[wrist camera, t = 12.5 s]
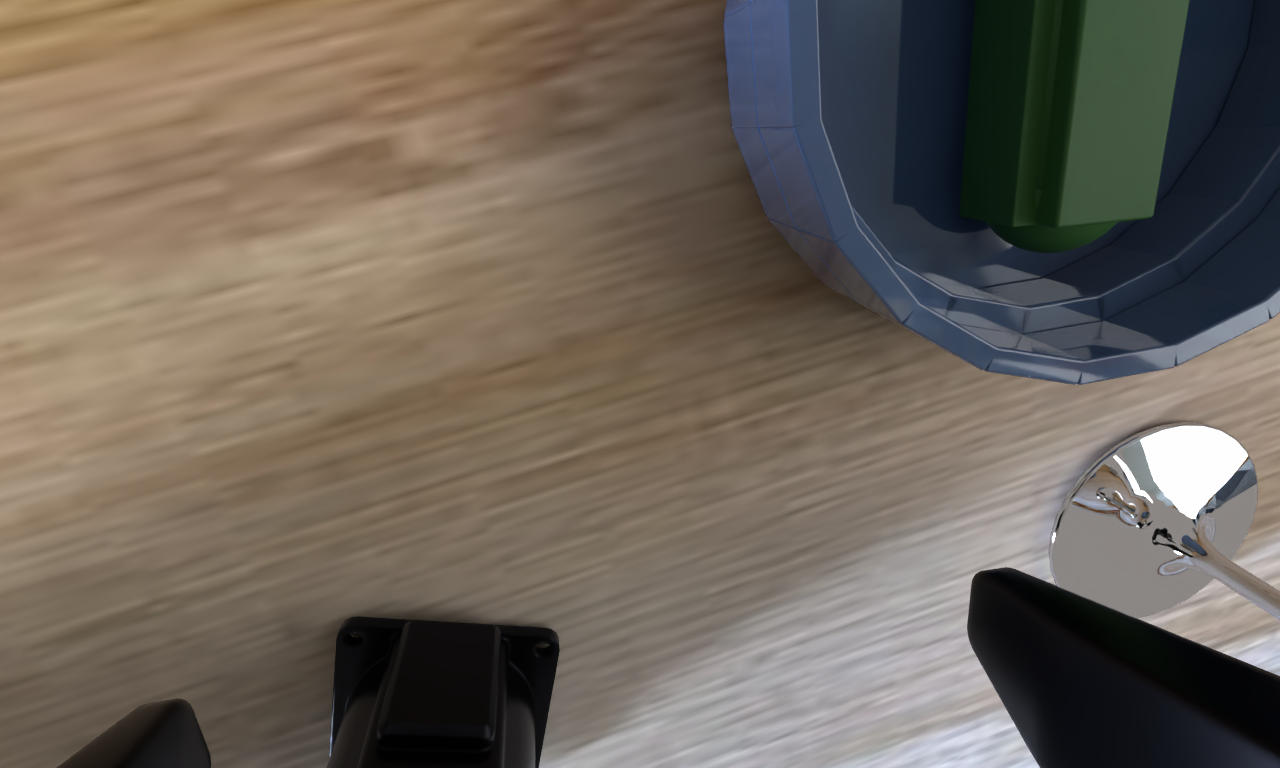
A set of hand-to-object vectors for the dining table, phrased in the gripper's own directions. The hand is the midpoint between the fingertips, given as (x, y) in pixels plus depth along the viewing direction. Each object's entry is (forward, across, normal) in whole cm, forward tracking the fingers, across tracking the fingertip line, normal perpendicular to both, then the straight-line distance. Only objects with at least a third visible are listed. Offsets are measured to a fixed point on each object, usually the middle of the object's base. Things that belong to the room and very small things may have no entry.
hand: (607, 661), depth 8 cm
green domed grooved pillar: (+11, -12, -7) cm, 18 cm away
